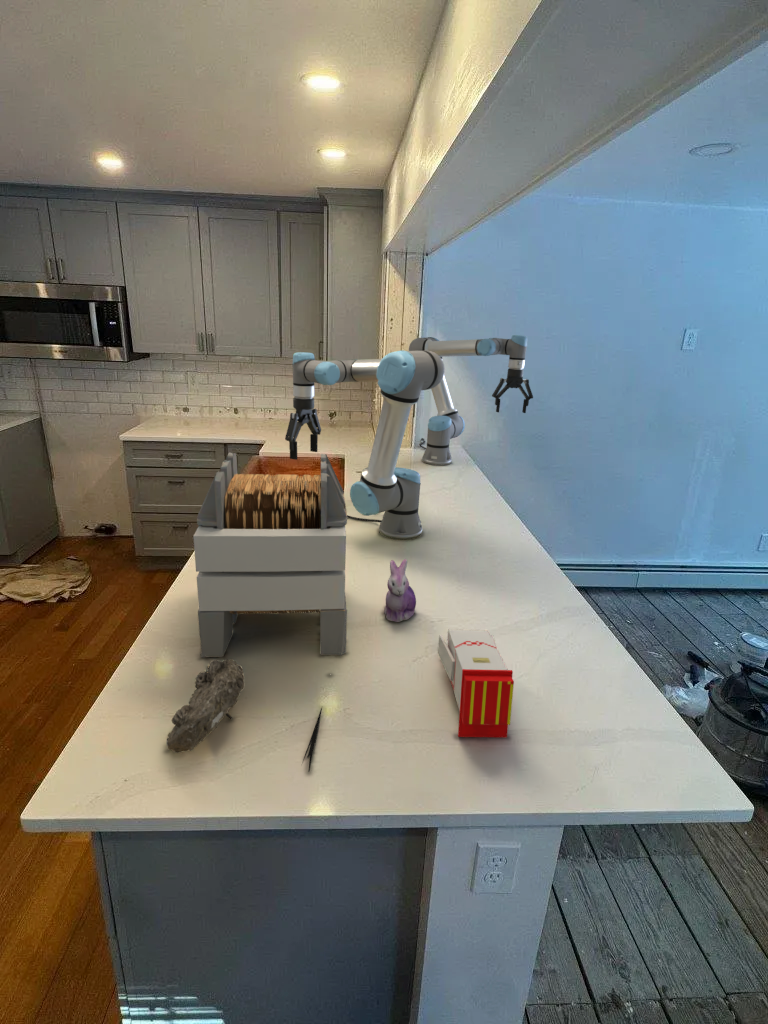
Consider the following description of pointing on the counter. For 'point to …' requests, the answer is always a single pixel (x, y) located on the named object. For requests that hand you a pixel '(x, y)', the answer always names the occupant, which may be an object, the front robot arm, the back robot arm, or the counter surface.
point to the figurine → (399, 594)
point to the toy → (478, 682)
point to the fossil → (206, 705)
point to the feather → (313, 740)
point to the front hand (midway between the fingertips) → (304, 455)
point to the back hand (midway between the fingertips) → (510, 412)
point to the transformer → (271, 552)
